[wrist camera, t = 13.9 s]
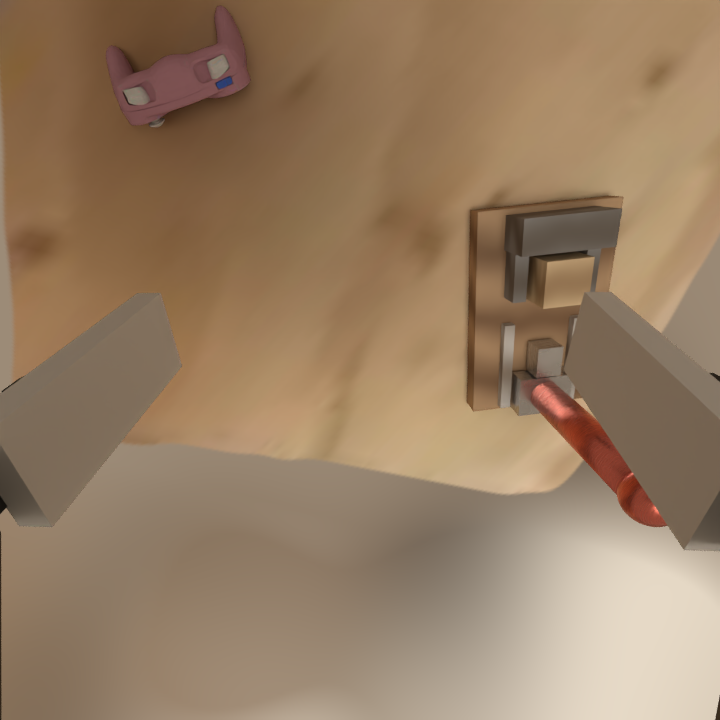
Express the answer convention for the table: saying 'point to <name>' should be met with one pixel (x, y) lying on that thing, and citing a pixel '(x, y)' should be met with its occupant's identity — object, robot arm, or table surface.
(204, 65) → the video game controller
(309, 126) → the table surface
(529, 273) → the block
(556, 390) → the press lever
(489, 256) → the press bed
